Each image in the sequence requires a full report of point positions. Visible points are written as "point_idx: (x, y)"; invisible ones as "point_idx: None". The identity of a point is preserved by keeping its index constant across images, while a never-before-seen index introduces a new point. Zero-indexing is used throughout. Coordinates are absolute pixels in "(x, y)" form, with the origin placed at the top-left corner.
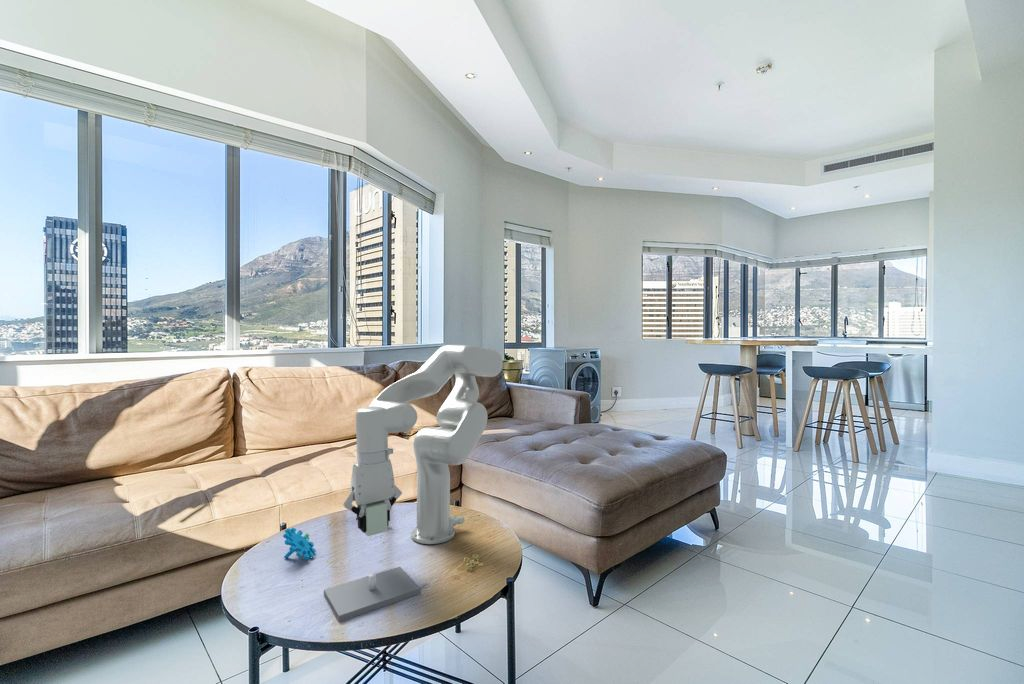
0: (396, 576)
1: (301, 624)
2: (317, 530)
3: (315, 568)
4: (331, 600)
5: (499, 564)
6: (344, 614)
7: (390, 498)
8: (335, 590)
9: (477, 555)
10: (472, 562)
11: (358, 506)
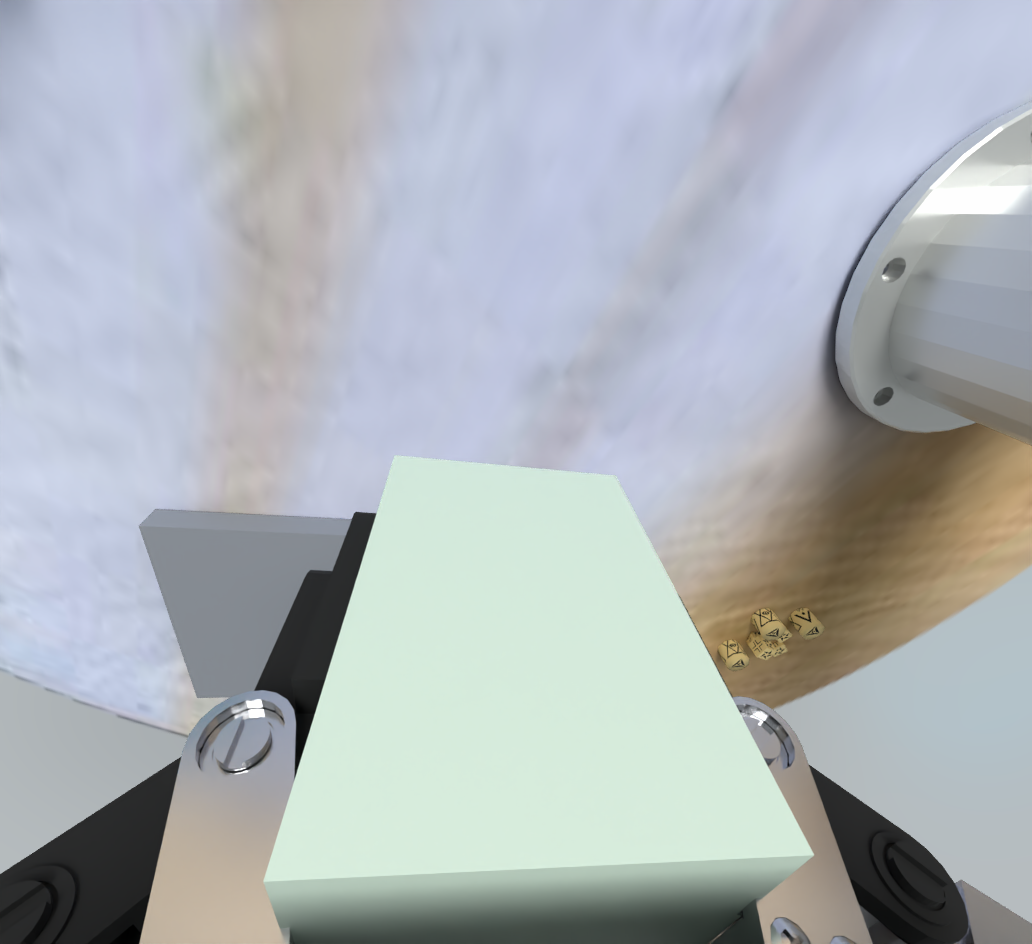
0: None
1: (58, 636)
2: None
3: (92, 141)
4: (174, 617)
5: (812, 666)
6: (220, 694)
7: (864, 919)
8: (201, 563)
9: (816, 635)
10: (760, 657)
11: (187, 904)
